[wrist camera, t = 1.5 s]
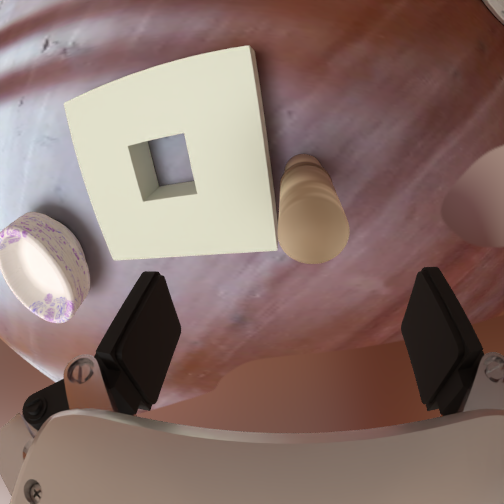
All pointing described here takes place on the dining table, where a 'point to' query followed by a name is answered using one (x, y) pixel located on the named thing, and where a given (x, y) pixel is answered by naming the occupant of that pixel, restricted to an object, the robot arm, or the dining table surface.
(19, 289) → the paper bowls
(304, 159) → the peg
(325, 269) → the dining table surface
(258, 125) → the board
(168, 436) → the robot arm
